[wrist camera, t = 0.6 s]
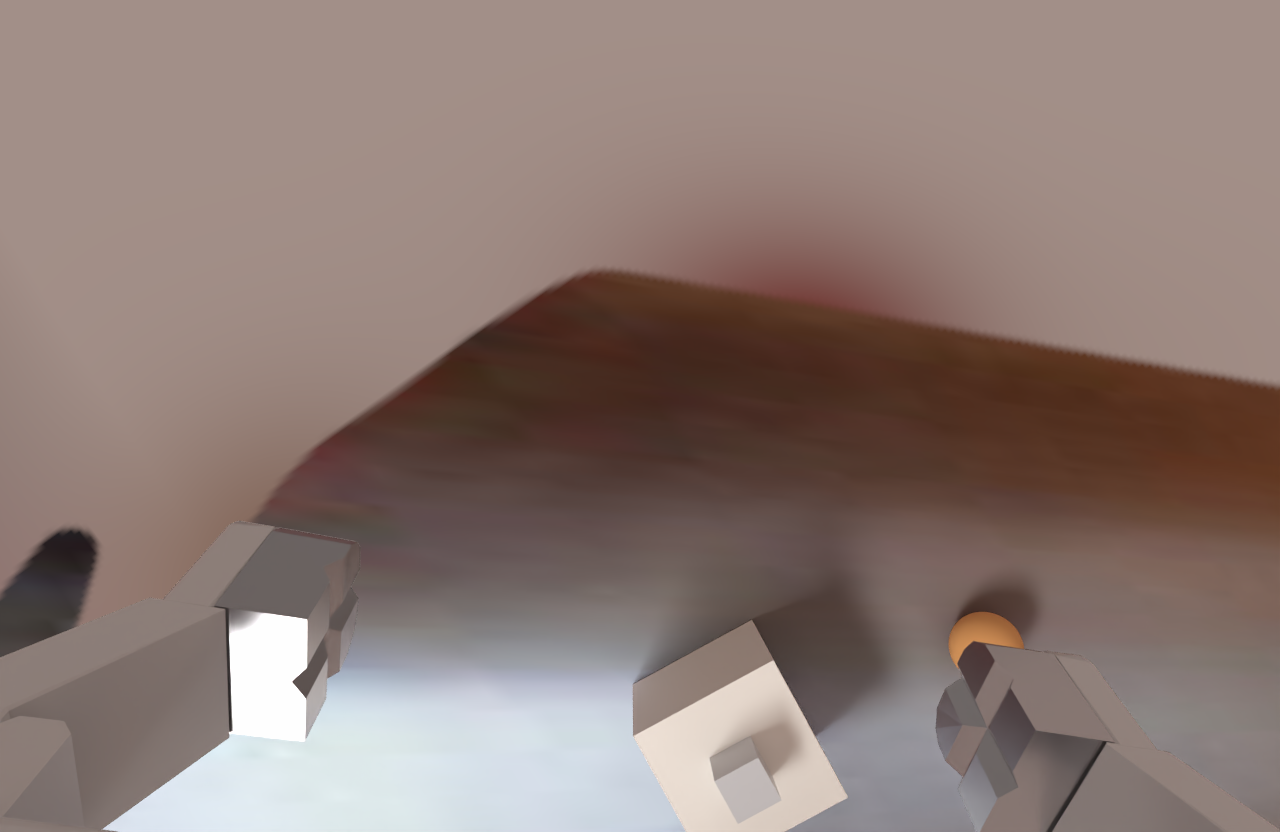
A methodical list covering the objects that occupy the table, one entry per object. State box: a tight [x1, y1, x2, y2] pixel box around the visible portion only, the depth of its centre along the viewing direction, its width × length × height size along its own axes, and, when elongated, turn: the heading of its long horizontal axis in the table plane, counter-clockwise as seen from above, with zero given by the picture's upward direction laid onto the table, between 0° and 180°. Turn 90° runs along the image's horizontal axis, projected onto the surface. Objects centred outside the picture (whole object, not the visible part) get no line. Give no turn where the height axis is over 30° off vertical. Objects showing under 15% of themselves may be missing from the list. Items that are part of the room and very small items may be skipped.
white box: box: [633, 620, 848, 832], centre depth 53 cm, size 10×10×12 cm
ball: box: [949, 612, 1024, 669], centre depth 57 cm, size 5×5×5 cm
